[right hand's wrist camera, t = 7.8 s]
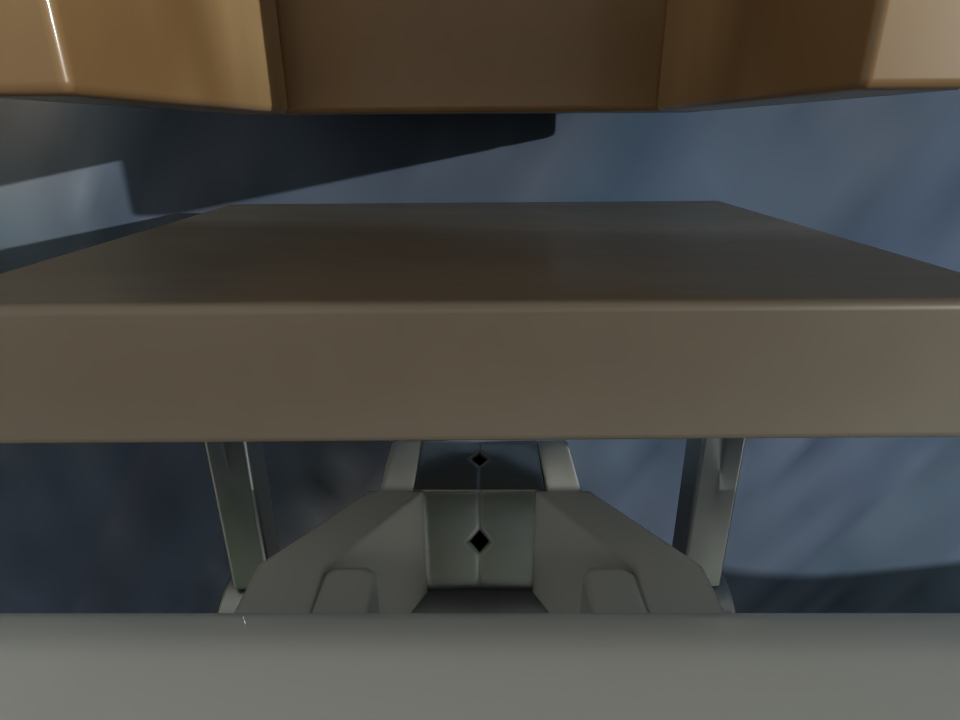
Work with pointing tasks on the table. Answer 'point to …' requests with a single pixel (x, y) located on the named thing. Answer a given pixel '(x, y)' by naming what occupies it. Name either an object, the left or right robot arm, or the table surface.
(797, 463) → the table surface
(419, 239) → the drawer
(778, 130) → the table surface
